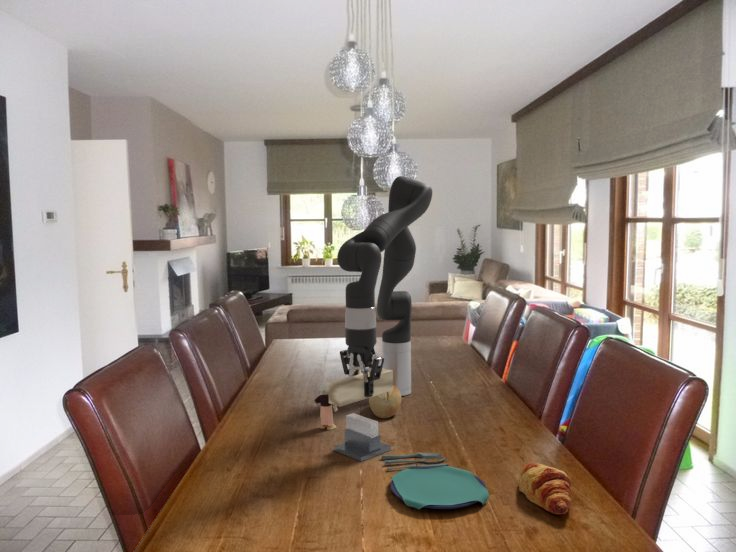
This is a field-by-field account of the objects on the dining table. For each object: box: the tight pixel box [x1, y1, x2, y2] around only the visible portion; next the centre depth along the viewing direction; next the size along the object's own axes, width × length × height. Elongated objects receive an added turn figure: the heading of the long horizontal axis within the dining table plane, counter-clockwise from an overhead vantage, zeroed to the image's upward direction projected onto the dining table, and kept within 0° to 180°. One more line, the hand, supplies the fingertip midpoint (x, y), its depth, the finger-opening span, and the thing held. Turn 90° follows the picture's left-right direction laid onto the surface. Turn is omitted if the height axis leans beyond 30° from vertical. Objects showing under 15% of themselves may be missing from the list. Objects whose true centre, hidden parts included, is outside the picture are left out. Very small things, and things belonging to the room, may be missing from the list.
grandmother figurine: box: [313, 381, 338, 431], centre depth 164 cm, size 8×4×13 cm, turn 71°
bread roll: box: [368, 385, 402, 420], centre depth 176 cm, size 10×15×8 cm, turn 1°
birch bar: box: [327, 368, 393, 407], centre depth 146 cm, size 4×18×5 cm, turn 135°
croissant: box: [518, 462, 573, 515], centre depth 122 cm, size 21×10×8 cm, turn 3°
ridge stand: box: [333, 412, 392, 462], centre depth 147 cm, size 10×10×8 cm
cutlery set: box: [381, 451, 490, 510], centre depth 129 cm, size 20×30×2 cm, turn 10°
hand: (362, 394), depth 146 cm, fingers closed on birch bar, 4 cm apart
